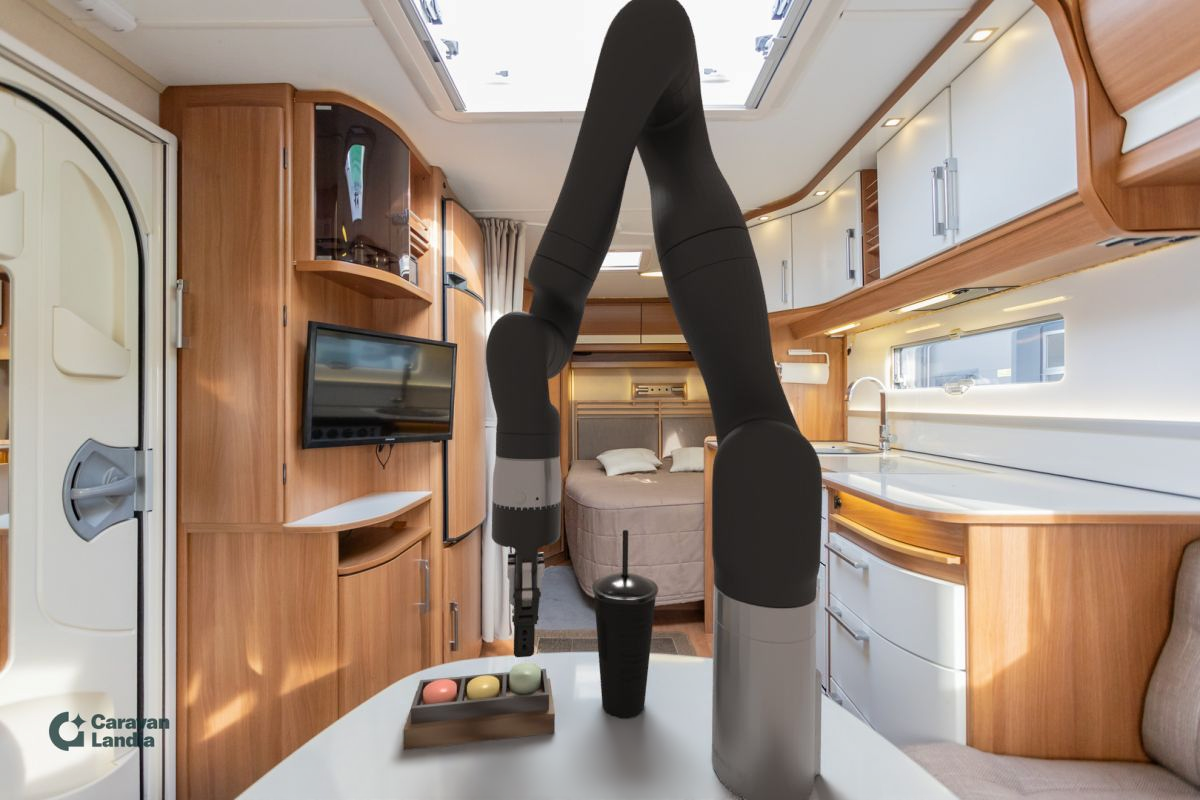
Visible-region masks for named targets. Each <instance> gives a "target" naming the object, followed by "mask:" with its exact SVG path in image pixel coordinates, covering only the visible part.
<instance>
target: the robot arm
mask: <svg viewBox="0 0 1200 800" xmlns="http://www.w3.org/2000/svg"><path fill="white" fill-rule="evenodd" d="M695 38H696V36H695V33H694V30H693V25H692V21H691V19H690V17H689V15H688V13H687V11H686V9H685V7H684V6H683V5H682V4H681V2H680V1H679V0H630V1H628V2H627V3H626V4H625V5H624V6H623V7H622V8H620V9H619V10H618V12H617V13H616V15H615V16H614V17H613V19H612V20H611V22H610V24H609V25H608V28H607V31H606V33H605V36H604V38H603V41H602V45H601V48H600V50H599V56H598V59H597V63H596V65H595V70H594V71H595V72H594V75H593V80H592V83H591V87H590V91H589V95H588V99H587V103H586V106H585V110H584V113H583V118H582V120H581V124H580V128H579V132H578V135H577V138H576V142H575V146H574V148H573V151H572V152H573V153H572V155H571V158H570V159H571V160H570V162H569V165H568V169H567V171H566V175H565V178H564V180H563V184H562V187H561V188H560V189H561V190H560V193H559V194H558V197H557V201H556V203H555V205H554V208H553V210H552V213H551V215H550V218H549V220H548V222H547V225H546V227H545V229H544V231H543V234H542V236H541V238H540V241H539V243H538V245H537V248H536V250H535V252H534V255H533V257H532V260H531V263H530V266H529V268H528V272H527V279H528V283H529V285H531V288H532V291H533V295H532V299H531V301H530V306H529V309H528V311H521V310H516V311H510V312H508V313H505V314H503V315H502V316H500V317H499V318H498V319H497V320H496V321H495V322H494V324H493V326H492V327H491V329H490V331H489V334H488V338H487V341H486V345H485V346H486V348H485V365H486V371H487V372H486V373H487V377H488V378H487V379H488V381H489V389H490V393H491V398H492V402H493V406H494V410H495V415H496V429H495V430H496V431H495V461H494V468H493V473H492V474H493V475H492V493H491V494H492V495H491V496H492V500H491V539H492V541H493V542H494V543H495V544H496V545H499V546H501V547H505V548H512V549H514V550H515V551H514V553H513V552H511V553H509V552H508V553H507V579H508V580H509V591H508V592H509V593H508V594H509V596H508V597H509V600H508V601H509V604H510V605H511V606H513V608H511V614H512V615H511V616H512V617H511V623H513V656H514V657H515V658H527V657H528V658H529V657H532V656H534V653H535V637H536V636H535V633H536V631H535V630H536V625H537V624H538V621H539V608H540V603H541V602H542V595H543V594H542V593H543V592H542V589H543V586H542V584H543V578H544V577H545V569H546V568H545V567H546V566H545V559H544V551H540V552H538V550H539V549H540V548H542V547H545V546H551V545H553V544H555V543H556V542H557V541H558V540H559V539H560V537H561V529H562V528H561V526H562V525H561V524H562V522H561V521H562V520H561V519H562V482H563V481H562V479H563V478H562V476H563V475H562V469H561V416H560V413H559V410H558V408H557V407H556V406H555V405H553V403H552V401H551V398H550V387H549V386H550V385H549V380H550V379H551V380H552V379H553V378H555V377H556V376H557V375H559V374H561V372H562V371H563V370H564V368H565V367H566V366H567V364H568V363H569V361H570V359H571V357H572V356H573V355H572V354H573V353H574V350H575V347H576V344H577V341H578V337H579V334H580V329H581V325H582V323H583V322H582V321H583V318H584V314H585V313H584V312H585V307H586V303H587V299H588V296H589V294H590V292H591V290H592V288H593V287H594V284H595V282H596V279H597V277H598V275H599V273H600V270H601V268H602V266H603V264H604V261H605V259H606V257H607V254H608V252H609V250H610V247H611V244H612V241H613V239H614V235H615V232H616V229H617V224H618V220H619V216H620V212H621V206H622V202H623V197H624V193H625V188H626V183H627V177H628V174H629V170H630V166H631V162H632V160H633V155H634V153H635V150H636V149H637V152H638V154H639V157H640V160H641V163H642V165H643V168H644V171H645V175H646V178H647V182H648V186H649V193H650V204H651V205H650V207H651V221H652V222H651V223H652V232H653V239H654V245H655V249H656V256H657V261H658V263H659V267H660V271H661V274H662V279H663V282H664V285H665V288H666V293H667V295H668V300H669V302H670V306H671V308H672V311H673V314H674V316H675V319H676V321H677V324H678V327H679V329H680V331H681V334H682V336H683V338H684V341H685V342H686V345H687V346H688V349H689V351H690V353H691V355H692V357H693V359H694V361H695V363H696V366H697V368H698V370H699V372H700V374H701V377H702V380H703V383H704V386H705V389H706V393H707V397H708V401H709V405H710V409H711V410H710V411H711V415H712V420H713V425H714V431H715V437H716V444H717V450H716V452H715V455H714V459H713V465H712V476H711V477H712V479H711V481H712V483H711V554H712V555H711V556H712V561H713V611H712V612H713V618H712V620H713V624H712V625H713V627H712V629H713V631H712V633H713V634H712V639H713V640H712V696H711V697H712V701H711V702H712V703H711V707H712V708H711V709H712V710H711V711H712V713H711V715H712V717H711V718H712V719H711V762H712V767H713V770H714V771H715V773H716V775H717V777H718V778H719V779H720V780H721V782H722V783H723V784H724V786H726V787H727V788H728V789H729V790H730V791H731V792H733V793H734V794H736V795H737V796H739V797H740V798H742V799H744V800H807V799H808V798H809V797H810V796H811V795H812V793H813V791H814V787H815V777H817V776H818V775H820V774H821V773H822V772H821V771H822V770H821V769H822V767H821V766H822V765H821V764H822V762H821V761H822V700H823V699H822V694H823V693H822V690H823V689H822V688H823V685H822V683H823V681H822V680H823V679H822V673H821V671H820V670H819V669H818V668H817V666H816V663H817V662H816V661H817V659H816V658H817V657H816V656H817V594H818V593H817V584H818V583H817V582H818V576H819V572H820V569H821V568H820V566H821V550H822V549H821V547H822V515H823V476H822V475H823V474H822V467H821V462H820V459H819V456H818V455H819V454H818V453H817V452H816V450H815V448H814V446H813V445H812V444H811V442H810V441H809V440H808V439H807V438H806V437H805V436H804V435H803V434H802V432H801V429H800V428H799V424H798V423H797V421H796V419H795V417H794V414H793V412H792V409H791V406H790V404H789V401H788V399H787V396H786V394H785V391H784V388H783V385H782V383H781V380H780V377H779V374H778V370H777V366H776V364H775V359H774V353H773V346H772V345H773V344H772V338H771V330H770V329H771V328H770V320H769V319H770V318H769V313H768V306H767V305H768V304H767V299H766V294H765V289H764V288H765V287H764V284H763V283H764V282H763V279H762V278H763V277H762V275H761V270H760V266H759V262H758V259H757V255H756V252H755V248H754V245H753V242H752V239H751V235H750V231H749V229H748V226H747V222H746V220H745V217H744V215H743V212H742V210H741V208H740V205H739V204H738V201H737V199H736V196H735V194H734V193H733V191H732V189H731V187H730V184H729V183H728V181H727V180H726V178H725V176H724V174H723V173H722V170H721V169H720V167H719V165H718V163H717V161H716V159H715V155H714V153H713V150H712V145H711V142H710V136H709V132H708V127H707V126H708V125H707V121H706V116H705V112H704V111H705V110H704V105H703V103H704V102H703V97H702V89H701V87H702V86H701V85H702V84H701V74H700V73H701V72H700V67H699V59H698V50H697V42H696V39H695Z"/></svg>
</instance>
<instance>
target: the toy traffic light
mask: <svg viewBox="0 0 1200 800" xmlns="http://www.w3.org/2000/svg"><path fill="white" fill-rule="evenodd" d="M540 669H541V686H540V688H539V690H538V691H536V692H535V693H533V694H526V695H517V694H514V693H512V692H511V691H510V688H509V684H510V671H507V672H506V671H504V672H496V673H484V674H475V675H474V674H472V675H464V676H462V675H460V676H453V677H452V676H451V677H450V676H449V677H442V678H441V677H440V678H439V677H438V678H430V679H429V678H428V679H420V680H419V683H418V686H417V688H416V689H417V690H416V691H415V694H414V697H413V701H412V703H411V706H410V709H409V713H408V714H407V718H406V722H405V724H404V728H403V730H402V731H403V739H402V740H403V741H402V742H403V745H402V749H403V751H407V750H415V749H416V750H417V749H424V748H425V749H426V748H433V747H442V746H452V745H459V744H468V743H476V742H484V741H485V742H486V741H493V740H501V739H502V740H503V739H511V738H520V737H528V736H537V735H538V736H539V735H547V734H554V733H555V726H556V725H555V724H556V723H555V722H556V721H555V720H556V718H555V717H556V712H555V705H554V698H553V692H552V691H553V690H552V683H551V678H550V677H548V674H547V668H540ZM486 675H487V676H493V677H496V678H497V679H498V680H499V697H496V698H486V699H476V700H467V685H468V683H469V682H470V681H471V680H472V679H474V678H476V677H479V676H486ZM442 679H448V680H452V681H454V682H455V683H456V685H457V701H456V702H446V703H436V704H426V705H423V690H424V688H425V687H426V686H427V685H428V684H430V683H431V682H434V681H437V680H442Z"/></svg>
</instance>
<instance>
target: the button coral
mask: <svg viewBox="0 0 1200 800" xmlns="http://www.w3.org/2000/svg"><path fill="white" fill-rule="evenodd" d="M456 701H457V685H456V683H455V682H454V681H452V680H448V679H442V680H437V681H434V682H431V683H430V684H428V685H427V686H426V687H425V688H424V690H423V705H426V704H436V703H446V702H456Z"/></svg>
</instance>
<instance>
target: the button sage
mask: <svg viewBox="0 0 1200 800" xmlns="http://www.w3.org/2000/svg"><path fill="white" fill-rule="evenodd" d="M541 669H542V668H541V667H540V666H539V665H537V664H536V663H533V662H522V663H519V664H516V665H514V666H513V667H511V668H510V670H509V672H510V684H509V688H510V691H511V692H512V693H514V694H517V695H526V694H533V693H535V692H536V691H538V690H539V688H540V686H541Z"/></svg>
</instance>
